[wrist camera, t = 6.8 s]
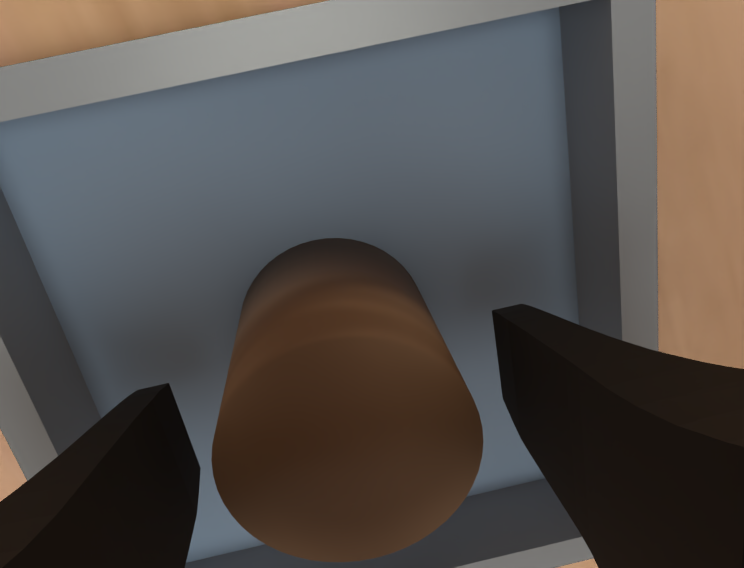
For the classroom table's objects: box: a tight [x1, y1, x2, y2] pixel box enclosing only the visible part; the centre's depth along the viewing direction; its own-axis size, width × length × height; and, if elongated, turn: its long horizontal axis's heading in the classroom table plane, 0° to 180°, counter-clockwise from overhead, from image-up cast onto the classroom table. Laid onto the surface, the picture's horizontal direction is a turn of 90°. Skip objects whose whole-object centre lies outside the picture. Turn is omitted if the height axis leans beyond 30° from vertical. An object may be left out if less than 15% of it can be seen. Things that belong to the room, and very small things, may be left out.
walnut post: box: [211, 238, 483, 562], centre depth 12 cm, size 4×4×5 cm
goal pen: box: [0, 0, 658, 568], centre depth 13 cm, size 14×14×2 cm
